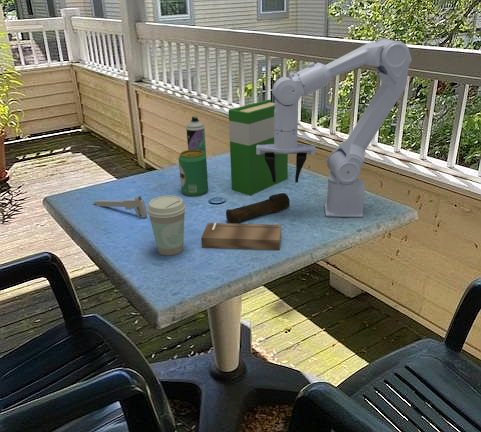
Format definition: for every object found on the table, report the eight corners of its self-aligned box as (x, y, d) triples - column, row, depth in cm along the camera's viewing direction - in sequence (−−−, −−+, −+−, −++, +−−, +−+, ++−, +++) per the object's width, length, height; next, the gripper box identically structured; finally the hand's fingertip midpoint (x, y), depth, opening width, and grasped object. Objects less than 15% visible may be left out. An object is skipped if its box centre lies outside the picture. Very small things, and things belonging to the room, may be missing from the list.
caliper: (147, 218, 129) (144, 196, 126) (144, 219, 128) (141, 197, 125) (94, 203, 139) (91, 183, 136) (91, 205, 138) (88, 184, 135)
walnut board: (281, 234, 117) (281, 224, 116) (279, 249, 110) (279, 239, 109) (208, 232, 119) (207, 222, 118) (201, 247, 112) (201, 237, 111)
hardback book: (269, 174, 156) (268, 99, 146) (287, 179, 152) (288, 102, 142) (231, 190, 145) (228, 109, 135) (250, 195, 140) (248, 113, 130)
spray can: (192, 175, 157) (187, 114, 149) (209, 176, 156) (205, 114, 148) (188, 181, 152) (183, 118, 144) (205, 182, 151) (201, 118, 143)
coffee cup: (157, 262, 106) (151, 212, 101) (148, 245, 114) (142, 198, 109) (194, 253, 109) (190, 205, 104) (183, 238, 117) (178, 192, 112)
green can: (179, 189, 147) (175, 151, 142) (204, 185, 149) (202, 147, 144) (184, 198, 140) (181, 158, 135) (211, 194, 142) (208, 155, 137)
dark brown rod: (232, 227, 122) (232, 210, 120) (225, 221, 125) (224, 205, 123) (294, 211, 130) (295, 195, 128) (286, 206, 133) (286, 190, 131)
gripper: (315, 124, 120) (313, 176, 126) (257, 124, 122) (258, 175, 128) (316, 132, 114) (314, 185, 120) (255, 131, 116) (256, 184, 122)
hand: (285, 181), depth 123 cm, fingers open, 5 cm apart
